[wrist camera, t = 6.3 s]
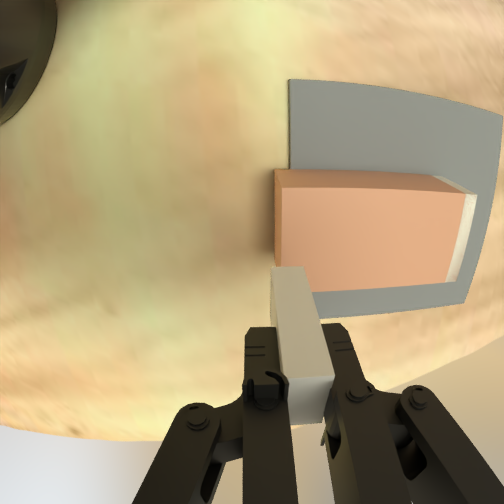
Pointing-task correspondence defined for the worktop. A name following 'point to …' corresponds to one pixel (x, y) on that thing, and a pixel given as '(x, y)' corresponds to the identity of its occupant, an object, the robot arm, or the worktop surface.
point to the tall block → (370, 227)
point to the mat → (397, 167)
